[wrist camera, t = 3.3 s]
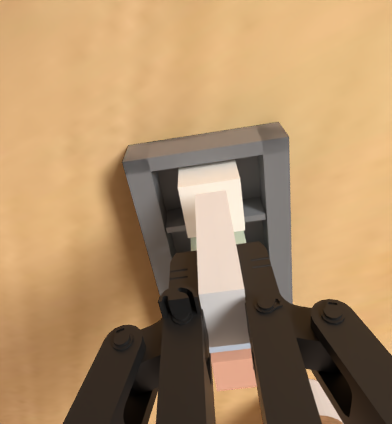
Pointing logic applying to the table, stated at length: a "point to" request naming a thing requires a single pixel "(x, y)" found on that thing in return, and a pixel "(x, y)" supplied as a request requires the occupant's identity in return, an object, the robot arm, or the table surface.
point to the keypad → (250, 186)
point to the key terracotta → (233, 369)
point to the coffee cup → (324, 405)
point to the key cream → (210, 190)
